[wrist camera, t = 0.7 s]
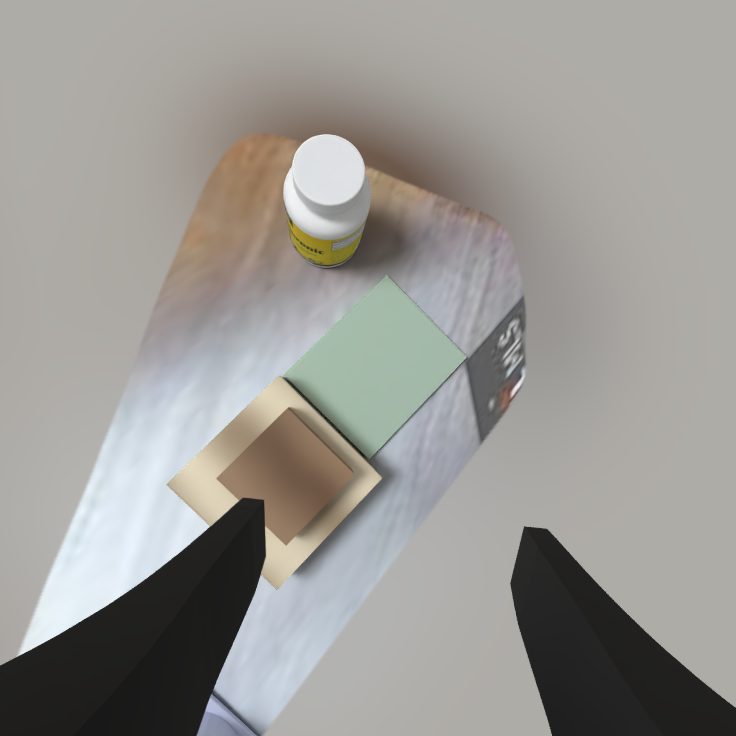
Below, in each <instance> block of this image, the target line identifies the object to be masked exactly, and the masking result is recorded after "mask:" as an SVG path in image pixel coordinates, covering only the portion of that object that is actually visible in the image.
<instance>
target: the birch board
mask: <svg viewBox="0 0 736 736" xmlns="http://www.w3.org/2000/svg"><path fill="white" fill-rule="evenodd" d="M288 407H290V408H291V409H292V410H293V411H294V412H295V413H296V414H297V415H298V416H299V417H300V418H301V419H302V420H303V421H304V422H305V423H306V424H307V425H308V426H309V427H310V428H311V429H312V430H313V431H314V432H315V433H316V434H317V435H318V436H319V437H320V438H321V439H322V440H323V441H324V442H325V443H326V444H327V445H328V446H329V447H330V448H331V449H332V450H333V451H334V452H335V453H336V454H338V455H339V456H340V457H341V458H342V459H343V460H344V461H345V462H346V463H347V464H348V465H349V466H350V467H351V468H352V470H353V472H354V475H353V476H352V478H351V479H350V480H349V481H348V482H347V483H346V484H345V485H344V486H343V487H342V488H341V489H340V490H339V491H338V492H337V493H336V494H335V495H334V496H333V497H332V498H331V500H330V501H329V502H328V503H327V504H326V505H325V506H324V507H323V508H322V509H321V510H320V511H319V512H318V513H317V514H316V515H315V516H314V517H313V518H312V519H311V520H310V522H309V523H308V524H307V525H306V526H305V527H304V528H303V529H302V530H301V531H300V532H299V533H298V534H297V535H296V536H295V537H294V538H293V539H292V540H291V541H290V542H289V544H288V545H287V546H286V545H285V544H284V543H283V542H282V541H280V540H279V539H278V538H277V537H276V536H275V535H274V534H273V533H272V532H271V531H270V530H269V529H268V528H267V527H266V526H265V537H266V558H265V562H264V565H263V568H262V572H261V575H262V576H263V577H264V578H265V579H266V580H267V581H268V582H269V583H270V584H271V585H272V586H273V587H274V588H275V589H276V590H277V589H278V588H279V587H280V586H281V585H282V584H283V583H284V582H285V581H286V580H287V579H288V578H289V577H290V576H291V575H292V573H293V572H294V571H295V570H296V569H297V568H298V567H299V566H300V565H301V564H302V563H303V562H304V561H305V560H306V559H307V558H308V556H309V555H310V554H311V553H312V552H313V551H314V550H315V549H316V548H317V547H318V546H319V545H320V544H321V543H322V542H323V541H324V539H325V538H326V537H327V536H328V535H329V534H330V533H331V532H332V531H333V530H334V529H335V528H336V527H337V526H338V525H339V524H340V522H341V521H342V520H343V519H344V518H345V517H346V516H347V515H348V514H349V513H350V512H351V511H352V510H353V509H354V508H355V507H356V505H357V504H358V503H359V502H360V501H361V500H362V499H363V498H364V497H365V496H366V495H367V494H368V493H369V492H370V491H371V490H372V488H373V487H374V486H375V485H376V484H377V483H378V482H379V481H380V480H381V479H382V477H381V476H380V474H379V473H378V472H377V470H376V469H375V468H374V467H373V466H372V465H371V464H370V463H369V462H368V461H367V460H366V459H365V458H364V457H363V456H362V455H361V454H360V453H359V452H358V451H357V450H356V449H355V448H354V447H353V446H351V445H350V444H349V443H348V442H347V441H346V440H345V439H344V438H343V437H342V436H341V435H340V434H339V433H338V432H337V431H336V430H335V429H334V428H333V427H332V426H331V425H330V424H329V423H328V422H327V421H326V420H325V419H324V418H323V417H322V416H321V415H320V414H319V413H318V412H317V411H316V410H315V409H314V408H313V407H312V406H311V405H310V404H309V403H308V402H307V401H306V400H305V399H304V398H303V397H302V396H301V395H300V394H299V393H298V392H297V391H296V390H295V389H294V388H293V387H292V386H291V385H290V384H289V383H288V382H287V381H286V380H285V379H284V378H283V377H281V376H278V377H277V378H276V379H275V380H274V381H273V382H272V383H271V384H270V385H269V386H268V387H266V388H265V389H264V390H263V391H262V392H261V393H260V394H259V395H258V396H257V397H256V398H255V399H254V400H253V401H252V402H251V403H250V404H249V405H248V406H247V407H246V408H245V409H244V410H243V411H242V412H241V413H240V414H239V415H238V416H237V417H236V418H235V419H234V420H232V421H231V422H230V423H229V424H228V425H227V426H226V427H225V428H224V429H223V430H222V431H221V432H220V433H219V434H218V435H217V436H216V437H215V438H214V439H213V440H212V441H211V442H210V443H209V444H208V445H207V446H206V447H205V448H204V449H203V450H202V451H201V452H199V453H198V454H197V455H196V456H195V457H194V458H193V459H192V460H191V461H190V462H189V463H188V464H187V465H186V466H185V467H184V468H183V469H182V470H181V471H180V472H179V473H178V474H177V475H176V476H175V477H174V478H173V479H172V480H171V481H170V482H169V483H168V484H167V486H168V487H169V488H170V489H171V490H173V491H174V492H175V493H176V494H177V495H178V496H179V497H180V498H181V499H182V500H183V501H184V502H185V503H186V504H187V505H188V506H189V507H190V508H191V509H192V510H194V511H195V512H196V513H197V514H198V515H199V516H200V517H201V518H202V519H203V520H204V521H205V522H206V523H207V524H208V525H209V526H212V525H213V524H214V523H215V522H216V521H217V520H218V519H219V518H220V517H222V516H223V515H224V514H225V513H226V512H227V511H228V510H229V509H230V508H231V507H233V506H234V505H235V504H236V503H237V502H238V501H239V500H238V499H237V498H236V497H235V496H234V495H233V494H232V493H231V492H230V491H228V490H227V489H226V488H225V487H224V486H223V485H222V484H221V483H220V482H219V481H218V480H217V479H216V478H217V477H218V476H219V475H220V474H221V473H222V472H223V471H224V470H225V469H226V468H227V467H228V466H229V465H230V464H231V463H232V462H233V461H234V460H235V459H236V458H237V457H238V456H239V455H240V454H241V453H242V452H243V451H244V450H245V449H246V448H247V447H248V446H249V445H250V444H251V443H252V442H253V441H254V440H255V439H256V438H257V437H258V436H259V435H260V434H261V433H262V432H263V431H265V430H266V429H267V428H268V427H269V426H270V425H271V424H272V423H273V422H274V421H275V420H276V419H277V418H278V417H279V416H280V415H281V414H282V413H283V412H284V411H285V410H286V409H287V408H288Z"/></svg>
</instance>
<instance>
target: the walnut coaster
mask: <svg viewBox="0 0 736 736" xmlns="http://www.w3.org/2000/svg"><path fill="white" fill-rule="evenodd" d="M353 475H354V472H353V470H352V468H351V467H350V466H349V465H348V464H347V463H346V462H345V461H344V460H343V459H342V458H341V457H340V456H339V455H338V454H336V453H335V452H334V451H333V450H332V449H331V448H330V447H329V446H328V445H327V444H326V443H325V442H324V441H323V440H322V439H321V438H320V437H319V436H318V435H317V434H316V433H315V432H314V431H313V430H312V429H311V428H310V427H309V426H308V425H307V424H306V423H305V422H304V421H303V420H302V419H301V418H300V417H299V416H298V415H297V414H296V413H295V412H294V411H293V410H292V409H291V408H290V407H288V408H287V409H286V410H285V411H284V412H283V413H282V414H281V415H280V416H279V417H278V418H277V419H276V420H275V421H274V422H273V423H272V424H271V425H270V426H269V427H268V428H267V429H266V430H265V431H263V432H262V433H261V434H260V435H259V436H258V437H257V438H256V439H255V440H254V441H253V442H252V443H251V444H250V445H249V446H248V447H247V448H246V449H245V450H244V451H243V452H242V453H241V454H240V455H239V456H238V457H237V458H236V459H235V460H234V461H233V462H232V463H231V464H230V465H229V466H228V467H227V468H226V469H225V470H224V471H223V472H222V473H221V474H220V475H219V476H218V477H217V478H216V479H217V480H218V481H219V482H220V483H221V484H222V485H223V486H224V487H225V488H226V489H227V490H228V491H230V492H231V493H232V494H233V495H234V496H235V497H236V498H237V499H238V500H241V499H242V498H253V499H263V500H264V507H265V526H266V527H267V528H268V529H269V530H270V531H271V532H272V533H273V534H274V535H275V536H276V537H277V538H278V539H279V540H280V541H282V542H283V543H284V544H285V545H286V546H287V545H288V544H289V542H290V541H291V540H292V539H293V538H294V537H295V536H296V535H297V534H298V533H299V532H300V531H301V530H302V529H303V528H304V527H305V526H306V525H307V524H308V523H309V522H310V520H311V519H312V518H313V517H314V516H315V515H316V514H317V513H318V512H319V511H320V510H321V509H322V508H323V507H324V506H325V505H326V504H327V503H328V502H329V501H330V500H331V498H332V497H333V496H334V495H335V494H336V493H337V492H338V491H339V490H340V489H341V488H342V487H343V486H344V485H345V484H346V483H347V482H348V481H349V480H350V479H351V478H352V476H353Z"/></svg>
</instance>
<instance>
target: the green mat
mask: <svg viewBox="0 0 736 736" xmlns="http://www.w3.org/2000/svg"><path fill="white" fill-rule="evenodd" d="M466 358H467V357H466V356H465V355H464V354H463V353H462V352H461V351H460V350H459V349H458V348H457V347H456V346H455V345H454V343H453V342H452V341H451V340H450V339H449V338H448V337H447V336H446V335H445V334H444V333H443V332H442V331H441V330H440V329H439V328H438V327H437V326H436V325H435V324H434V323H433V322H432V321H431V320H430V319H429V318H428V317H427V316H426V315H425V314H424V313H423V312H422V311H421V310H420V309H419V308H418V306H417V305H416V304H415V303H414V302H413V301H412V300H411V299H410V298H409V297H408V296H407V295H406V294H405V293H404V292H403V291H402V290H401V289H400V288H399V287H398V286H397V285H396V284H395V283H394V282H393V281H392V280H391V279H390V278H389V277H388V276H387V275H386V276H385V277H384V278H383V279H382V280H381V281H380V282H379V283H378V284H377V285H376V286H375V287H374V288H373V289H372V290H371V291H370V292H369V293H368V294H367V295H366V296H364V297H363V298H362V299H361V300H360V301H359V302H358V303H357V304H356V305H355V306H354V307H353V308H352V309H351V310H350V311H349V312H348V313H347V314H346V315H345V316H344V317H343V318H342V319H341V320H340V321H339V322H338V323H337V324H336V325H335V326H334V327H333V328H332V329H331V330H330V331H329V332H327V333H326V334H325V335H324V336H323V337H322V338H321V339H320V340H319V341H318V342H317V343H316V344H315V345H314V346H313V347H312V348H311V349H310V350H309V351H308V352H307V353H306V354H305V355H304V356H303V357H302V358H301V359H300V360H299V361H298V362H297V363H296V364H295V365H294V366H293V367H291V368H290V369H289V370H288V371H287V372H286V373H285V374H284V376H285V377H286V378H288V379H289V380H290V381H291V382H292V383H293V384H294V385H295V386H296V387H297V388H298V389H299V390H300V391H301V392H302V393H303V394H304V395H305V396H306V397H307V398H308V399H309V400H310V401H311V402H312V403H313V404H314V405H315V406H316V407H317V408H318V409H319V410H320V411H321V412H322V413H323V414H324V415H325V416H326V417H327V418H328V419H329V420H330V421H331V422H332V423H333V424H334V425H335V426H336V427H337V428H338V429H339V430H340V431H341V432H342V433H343V434H344V435H345V436H346V437H347V438H348V439H349V440H350V441H351V442H352V443H353V444H354V445H355V446H356V447H357V448H358V449H359V450H360V451H361V452H362V453H363V454H364V455H365V456H366V457H367V458H368V459H370V458H371V457H372V456H373V455H374V454H375V453H376V452H377V451H378V450H379V449H380V448H381V447H382V446H383V445H384V444H385V443H386V442H387V440H388V439H389V438H390V437H391V436H392V435H393V434H394V433H395V432H396V431H397V430H398V429H399V428H400V427H401V426H402V425H403V424H404V423H405V422H406V421H407V420H408V418H409V417H410V416H411V415H412V414H413V413H414V412H415V411H416V410H417V409H418V408H419V407H420V406H421V405H422V404H423V403H424V402H425V401H426V400H427V399H428V398H429V396H430V395H431V394H432V393H433V392H434V391H435V390H436V389H437V388H438V387H439V386H440V385H441V384H442V383H443V382H444V381H445V380H446V379H447V378H448V377H449V375H450V374H451V373H452V372H453V371H454V370H455V369H456V368H457V367H458V366H459V365H460V364H461V363H462V362H463V361H464V360H465V359H466Z"/></svg>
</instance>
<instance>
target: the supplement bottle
mask: <svg viewBox="0 0 736 736" xmlns="http://www.w3.org/2000/svg"><path fill="white" fill-rule="evenodd" d="M284 204H285V209H286V215H287V221H288V227H289V233H290V238H291V241H292V244H293V246H294V248H295V250H296V252H297V253H298V254H299V255H300V256H301V257H302V258H303V259H304V260H305V261H306V262H308V263H310V264H312V265H314V266H317V267H322V268H330V267H336V266H339V265H341V264H343V263H345V262H346V261H348V260H349V259H350V258H351V257H352V256H353V255H354V253H355V252H356V250H357V248H358V246H359V243H360V240H361V237H362V233H363V230H364V226H365V223H366V220H367V217H368V213H369V210H370V205H371V188H370V184H369V181H368V178H367V176H366V174H365V165H364V162H363V159H362V157H361V155H360V153H359V151H358V150H357V149H356V148H355V147H354V146H353V145H352V144H351V143H350V142H348V141H347V140H345V139H343V138H341V137H339V136H335V135H330V134H327V135H326V134H324V135H318V136H314V137H312V138H310V139H308V140H307V141H305V142H304V143H303V144H302V145H301V146H300V147H299V148H298V150H297V152H296V153H295V156H294V159H293V163H292V167H291V169H290V170H289V172H288V174H287V176H286V179H285V183H284Z"/></svg>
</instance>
